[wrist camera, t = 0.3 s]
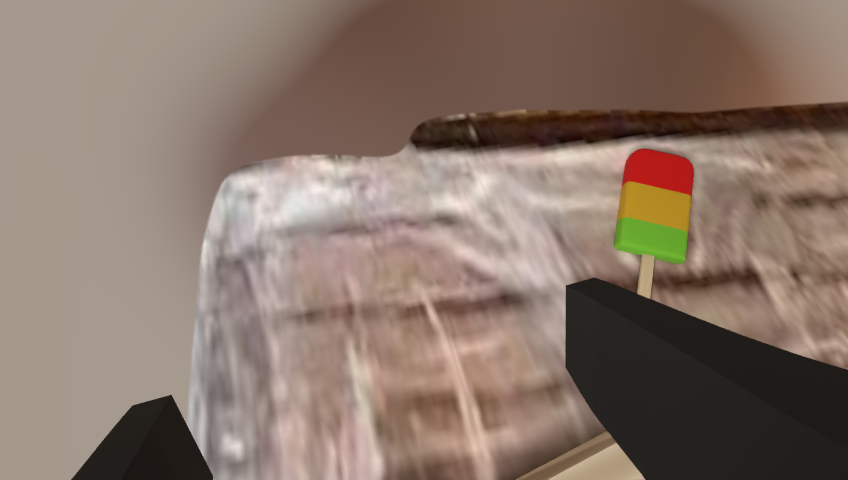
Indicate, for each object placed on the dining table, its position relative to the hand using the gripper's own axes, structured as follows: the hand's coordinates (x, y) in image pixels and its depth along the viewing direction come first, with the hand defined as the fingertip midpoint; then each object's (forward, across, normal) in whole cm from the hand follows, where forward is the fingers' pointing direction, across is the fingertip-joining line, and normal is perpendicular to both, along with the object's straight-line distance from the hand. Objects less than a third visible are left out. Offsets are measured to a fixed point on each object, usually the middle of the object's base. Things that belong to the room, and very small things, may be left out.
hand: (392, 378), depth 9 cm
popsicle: (+24, -25, +15) cm, 38 cm away
